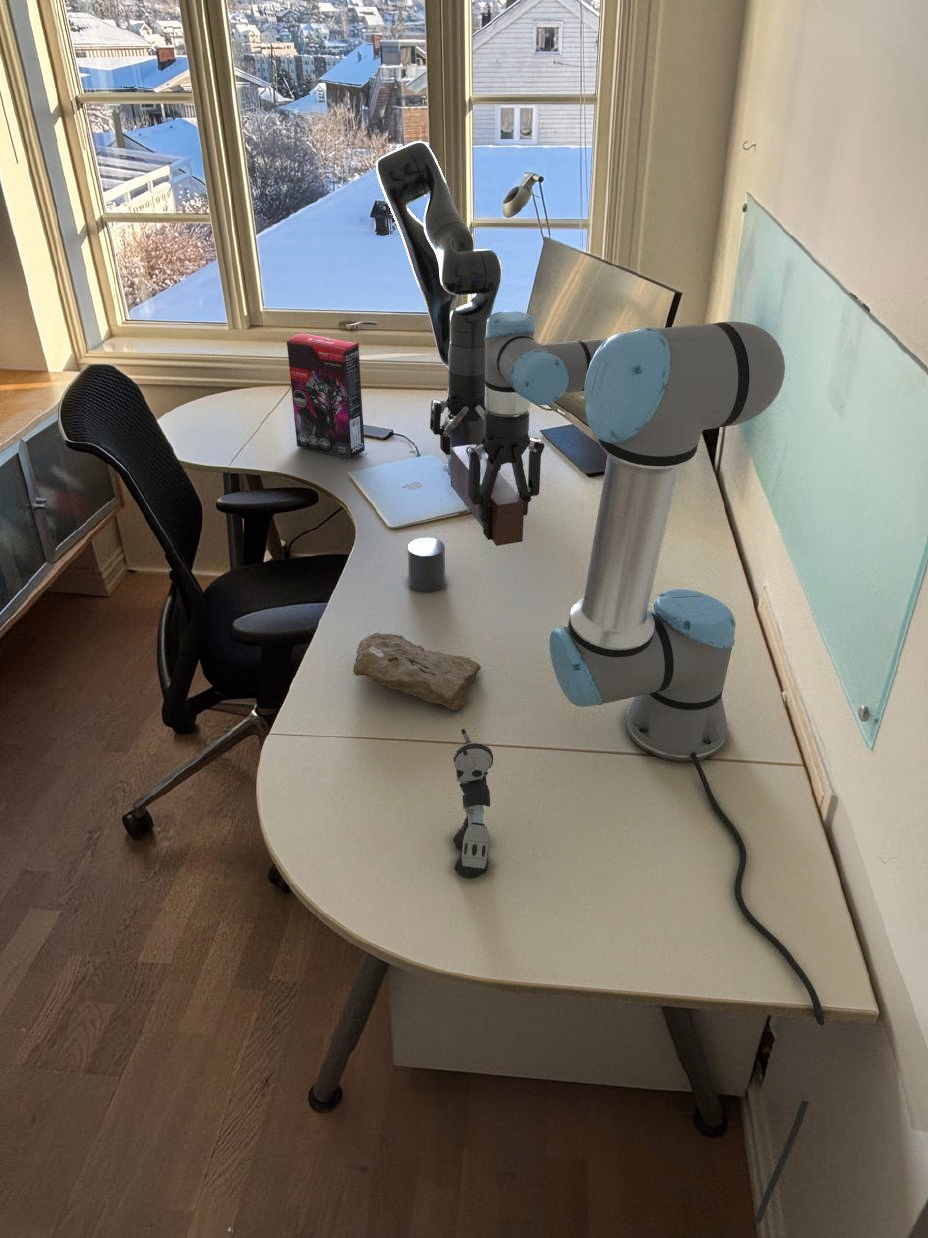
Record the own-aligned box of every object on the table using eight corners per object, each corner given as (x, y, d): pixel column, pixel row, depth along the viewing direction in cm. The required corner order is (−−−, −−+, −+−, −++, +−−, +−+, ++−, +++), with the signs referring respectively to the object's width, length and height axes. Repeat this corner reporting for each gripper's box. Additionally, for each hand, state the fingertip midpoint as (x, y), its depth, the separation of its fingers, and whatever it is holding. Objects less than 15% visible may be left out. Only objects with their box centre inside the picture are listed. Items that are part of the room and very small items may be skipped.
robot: (495, 914, 114) (500, 797, 103) (456, 915, 114) (456, 798, 103) (484, 799, 130) (487, 688, 119) (450, 801, 130) (450, 689, 119)
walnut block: (522, 541, 163) (524, 501, 159) (496, 546, 162) (497, 505, 157) (474, 481, 184) (474, 444, 179) (450, 485, 182) (450, 447, 178)
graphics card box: (294, 447, 232) (283, 339, 217) (310, 437, 237) (301, 331, 222) (351, 461, 225) (344, 350, 210) (367, 450, 230) (361, 342, 215)
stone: (328, 683, 147) (335, 650, 144) (363, 649, 160) (369, 618, 158) (451, 727, 143) (460, 694, 141) (476, 689, 157) (485, 658, 154)
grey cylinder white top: (439, 594, 175) (438, 558, 171) (404, 589, 177) (402, 553, 172) (449, 576, 181) (449, 540, 177) (415, 571, 182) (414, 535, 178)
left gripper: (498, 357, 172) (496, 439, 181) (425, 364, 168) (426, 447, 177) (513, 369, 166) (509, 453, 175) (437, 377, 162) (437, 462, 171)
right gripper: (548, 395, 158) (541, 517, 170) (447, 407, 153) (448, 531, 166) (566, 411, 152) (557, 535, 165) (462, 423, 147) (461, 551, 160)
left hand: (467, 450), depth 176 cm, fingers open, 8 cm apart
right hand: (502, 533), depth 165 cm, fingers closed on walnut block, 5 cm apart
